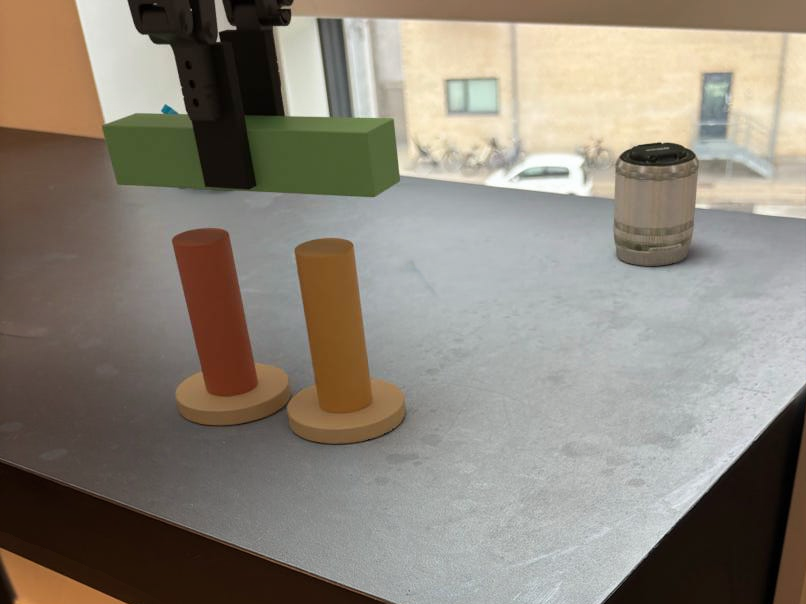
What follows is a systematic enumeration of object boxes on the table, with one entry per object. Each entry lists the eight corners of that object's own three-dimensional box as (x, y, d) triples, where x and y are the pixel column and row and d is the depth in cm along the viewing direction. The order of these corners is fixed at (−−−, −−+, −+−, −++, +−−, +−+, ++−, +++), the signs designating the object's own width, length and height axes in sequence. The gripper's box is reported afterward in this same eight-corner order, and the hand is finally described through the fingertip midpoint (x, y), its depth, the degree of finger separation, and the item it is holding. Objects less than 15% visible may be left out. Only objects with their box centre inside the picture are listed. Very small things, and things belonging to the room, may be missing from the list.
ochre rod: (267, 435, 60) (233, 262, 53) (325, 386, 65) (300, 223, 58) (373, 451, 57) (350, 273, 51) (424, 399, 62) (410, 231, 56)
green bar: (116, 185, 56) (100, 125, 54) (150, 170, 58) (135, 112, 56) (374, 197, 50) (366, 132, 49) (400, 181, 53) (394, 117, 51)
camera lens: (600, 248, 83) (603, 144, 78) (671, 238, 84) (678, 134, 79) (630, 272, 78) (635, 163, 73) (705, 261, 79) (714, 152, 74)
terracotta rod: (155, 417, 62) (111, 251, 56) (219, 371, 67) (185, 214, 61) (252, 432, 60) (217, 261, 54) (311, 384, 65) (285, 222, 59)
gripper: (74, -530, 33) (225, 226, 47) (319, -443, 44) (380, 143, 59) (-99, -491, 35) (96, 216, 50) (176, -419, 47) (268, 139, 61)
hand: (249, 176), depth 54 cm, fingers closed on green bar, 3 cm apart
